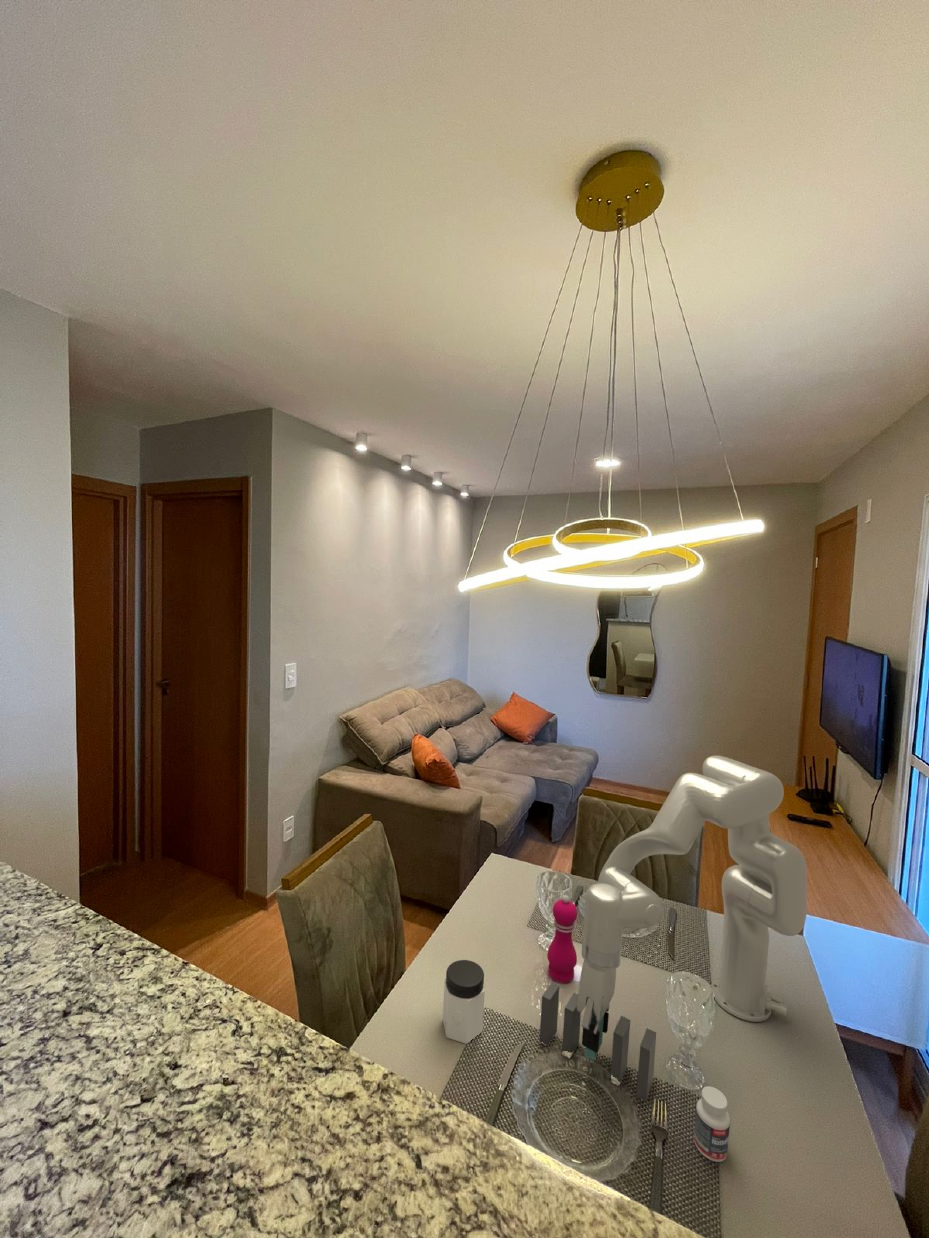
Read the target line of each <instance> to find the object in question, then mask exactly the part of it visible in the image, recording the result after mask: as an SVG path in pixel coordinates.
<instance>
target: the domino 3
mask: <svg viewBox="0 0 929 1238" xmlns="http://www.w3.org/2000/svg"><path fill="white" fill-rule="evenodd" d="M593 1013H594V1010H593ZM591 1023H593V1024H594V1025H595V1019H593V1018H591ZM603 1023H604V1015H603V1017H602V1019H601V1020H600V1021H599V1028H598V1031H599V1032H600V1035H599V1049H598V1052H599V1051H600V1048H601V1046H602V1044H603V1035H604V1032H603ZM598 1052H597V1053H596V1052H594V1051H592V1050H590V1049H588V1048H586V1047H585V1052H584V1053H585V1054H584V1056H585V1057H587V1058H589V1059H591V1060H593V1061H594V1060H595V1059H596V1057H597V1055H598Z"/></svg>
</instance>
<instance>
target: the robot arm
mask: <svg viewBox="0 0 929 1238" xmlns="http://www.w3.org/2000/svg"><path fill="white" fill-rule="evenodd" d="M784 790H785V789H784V785H783V783H782V781H781V780H780V778H779V777H777V776H776V775H775V774H773V773H771V772H769V771H766V770H764V769H762V768H761V769H760V768H757V767H754V766H753V765H752V766H751V765H749V764H747V763H744V762H741V761H739V760H735V759H732V758H730V757H726V756H723V755H711V756H708V757H707V758H706V759H705V760H704V761H703V763H702V774H700V773H696V772H687V773H684V774H682V775H680V777H679V778H678V779H677V780H676V782H675V784H674V785H673V788H672V789H671V790H670V792H669V794H668V795H667V797H666V799H665V801H664V802H663V804H662V806H661V808H660V810H659V811H658V812H657V814H656V816H655V818H654V820H653V822H652V823H650V826H649V827H648V828H646V829H644V830H642V831H639V832H637V833H634V834H633V835H631V836H629V837H628V838H626V839H625V840H623V841H622V842H620V843H619V844H618V845H617V846H615V848H614V849H613V851H612V852H611V853H610V855H609V856H608V859H607V861H605V864H604V865H603V867H602V869H601V870H600V873H599V875H598V881H597V882H596V883H593V884H591V885H590V886H589V887H588V888H587V890H586V893H585V902H584V903H585V904H584V916H583V917H584V918H583V931H582V943H581V956H582V959H583V962H582V966H581V972H580V979H579V985H578V991H577V992H578V993H577V994H578V1000H577V1010H578V1012H581V1014H582V1012H583V1011H584V1013H583V1017H582V1022H581V1027H582V1036H581V1037H582V1038H581V1046H583V1047H585V1049H586V1048H588V1049H590V1050H592V1051H594V1052H596V1053H597V1052H599V1051H598V1049H599V1035H600V1032H599V1031H598V1028H599V1021H600V1020H601V1019H602V1017H603V1015H604V1023H603V1034H607V1033H608V1030H609V1018H610V1016H609V1015H610V1014H609V1010H610V1004H611V1002H612V999H613V996H614V994H615V987H616V980H617V977H616V976H617V969H618V968H619V967H620V965H621V959H622V958H621V956H622V946H623V945H622V942H623V931H624V930H626V929H628V930H629V929H634V930H635V929H636V930H643V929H644V930H645V929H646V930H647V929H650V928H652V927H655V926H657V925H658V924H659V923H660V922H661V921H662V919H663V917H664V915H665V906H664V903H663V901H662V899H661V897H660V896H659V895H658V894H657V893H656V892H655V891H654V890H652V889H651V888H649V887H648V886H646V885H645V884H644V883H643V882H641V881H640V880H638V879H637V878H636V877H634V876H633V875H631V873H632V871H633V870H634V869H635V867H636V865H638V864H639V862H641V861H642V860H643V859H645V858H648V857H650V856H655V855H676V856H682V855H683V856H684V855H686V854H688V853H689V852H690V850H691V848H692V846H693V844H694V843H695V841H696V839H697V837H698V836H699V834H700V831H701V830H702V828H703V826H704V824H705V823H706V822H710V823H712V824H713V825H716V826H718V827H720V828H723V829H725V830H727V843H728V844H727V845H728V853H729V856H730V857H731V859H732V860H733V861H734V862H736V864H735V865H731V866H729V867H728V868H727V869H725V871H724V873H723V875H722V877H721V878H722V879H721V894H722V895H721V896H722V901H723V924H722V925H723V927H722V928H723V929H722V938H721V940H722V941H721V953H720V963H719V964H720V967H719V977H718V978H716V979H715V980H713V981H712V983H711V986H712V989H713V990H714V994H715V999H714V1001H715V1002H716V1003H717V1004H718V1005H719V1006H720V1008H722V1009H723V1010H724V1011H726V1012H727V1013H729V1014H731V1015H732V1016H734V1017H736V1018H738V1019H742V1020H744V1021H748V1022H755V1023H756V1022H760V1023H761V1022H764V1021H767V1020H769V1018H770V1017H771V1015H772V1011H774V1012H776V1013H778V1014H780V1015H782V1016H785V1017H788V1016H787V1015H788V1006H787V1005H784V1004H782V998H781V997H779V996H774V995H772V994H770V992H769V991H767V990H768V985H767V984H766V983H767V982H766V981H767V971H768V957H769V946H770V945H769V944H770V932H769V928H770V929H771V930H773V931H774V932H777V933H778V934H780V935H783V936H785V937H794V936H796V935H798V934H800V933H801V931H802V930H803V928H804V927H805V924H806V919H807V911H808V909H807V908H808V902H807V899H808V879H807V878H808V871H807V867H808V866H807V862H806V859H805V857H804V854H803V853H802V851H801V850H800V849H799V848H798V847H797V846H795V845H793V844H792V843H791V842H789V841H786V840H784V839H782V838H780V837H778V836H776V835H774V834H773V833H772V832H771V829H770V815H769V814H771V813H773V812H774V811H776V810H777V809H778V807H780V805H781V803H782V802H783V799H784V794H785V791H784ZM584 1009H585V1010H584ZM593 1010H594V1013H593ZM591 1018H593V1019H595V1025H594V1024H593V1023H591ZM599 1050H600V1049H599ZM597 1054H598V1053H597Z"/></svg>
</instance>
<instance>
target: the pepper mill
mask: <svg viewBox="0 0 929 1238" xmlns="http://www.w3.org/2000/svg"><path fill="white" fill-rule="evenodd" d="M552 916H553V918H554V919H553V926H554V929H555V934H554V937H553V938H552V941H551V942H550V944H549V947H548V949H547V954H546V956H547V957H546V958H547V961H548V968H547V969H548V971H547V972H548V976H549V977H550V978H551V980H554V981H555V982H557V983H561V984H568V983H570V982H572V981H573V980H574V978H575V967H576V965H577V963H578V957H577V951H576V949H575V945H574V943H573V939H572V937H573V936H572V934H573V931H574V930H575V922H576V920H577V918H578V909H577V907H576V905H575V903H574V902H572V901H571V900H570V897H569V896H568V895H567V894H564V895H563V896H562V898H561V899H559V900H557V901H555V903H554V905H553V906H552Z"/></svg>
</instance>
